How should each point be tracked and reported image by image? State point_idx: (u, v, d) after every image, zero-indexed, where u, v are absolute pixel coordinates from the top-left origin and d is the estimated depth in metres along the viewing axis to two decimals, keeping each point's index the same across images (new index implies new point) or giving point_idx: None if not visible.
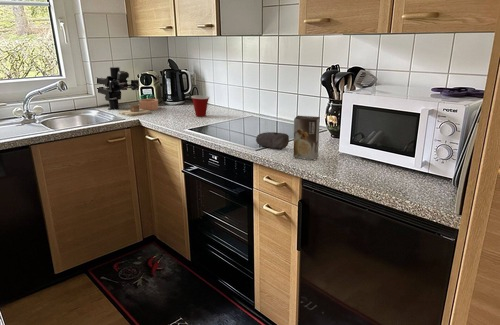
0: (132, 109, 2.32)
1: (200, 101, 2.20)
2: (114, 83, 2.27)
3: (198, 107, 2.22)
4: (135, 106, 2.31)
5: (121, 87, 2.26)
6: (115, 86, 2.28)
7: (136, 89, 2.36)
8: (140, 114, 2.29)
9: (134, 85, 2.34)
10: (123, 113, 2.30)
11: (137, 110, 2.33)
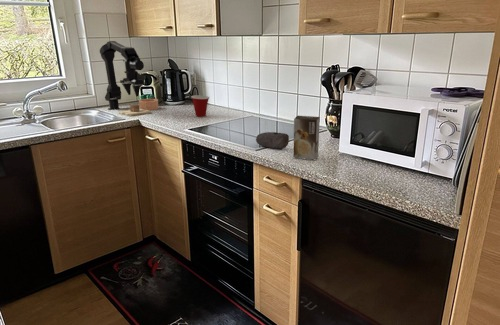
0: (132, 109, 2.32)
1: (200, 101, 2.20)
2: (141, 85, 2.25)
3: (198, 107, 2.22)
4: (135, 106, 2.31)
5: (137, 93, 2.26)
6: (138, 85, 2.24)
7: None
8: (140, 114, 2.29)
9: (129, 87, 2.33)
10: (123, 113, 2.30)
11: (137, 110, 2.33)
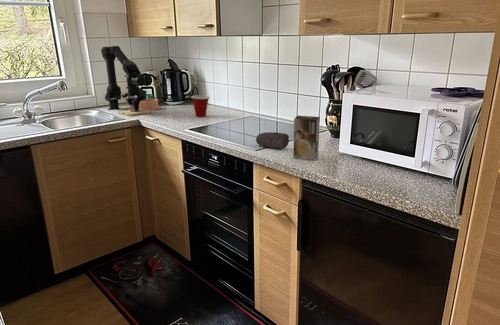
0: (132, 109, 2.32)
1: (200, 101, 2.20)
2: (140, 100, 2.30)
3: (198, 107, 2.22)
4: None
5: (136, 107, 2.31)
6: (137, 100, 2.29)
7: None
8: (140, 114, 2.29)
9: (132, 103, 2.34)
10: (123, 113, 2.30)
11: None
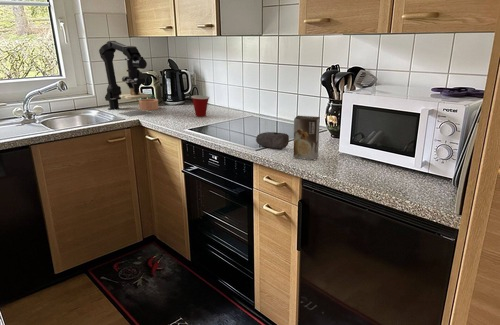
0: (132, 93, 2.31)
1: (200, 101, 2.20)
2: (141, 83, 2.28)
3: (198, 107, 2.22)
4: None
5: (137, 91, 2.30)
6: (137, 84, 2.27)
7: None
8: (140, 97, 2.28)
9: (133, 86, 2.33)
10: (123, 96, 2.29)
11: (137, 94, 2.31)
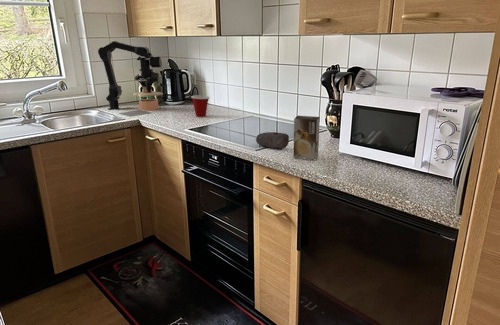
0: (145, 91, 2.44)
1: (200, 101, 2.20)
2: (153, 82, 2.41)
3: (198, 107, 2.22)
4: None
5: (149, 89, 2.43)
6: (150, 82, 2.41)
7: None
8: (153, 95, 2.41)
9: (145, 85, 2.46)
10: (136, 94, 2.42)
11: (150, 92, 2.45)
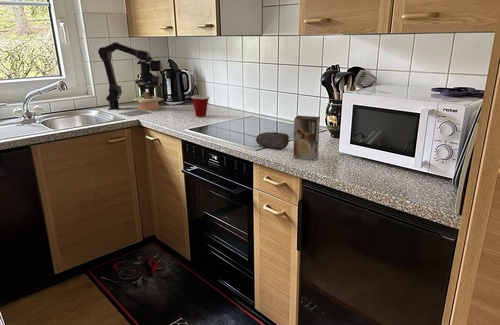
0: (145, 97, 2.45)
1: (200, 101, 2.20)
2: (155, 86, 2.41)
3: (198, 107, 2.22)
4: (148, 93, 2.44)
5: (151, 93, 2.42)
6: None
7: (139, 87, 2.47)
8: (153, 101, 2.42)
9: (144, 88, 2.48)
10: (137, 100, 2.43)
11: (150, 97, 2.46)
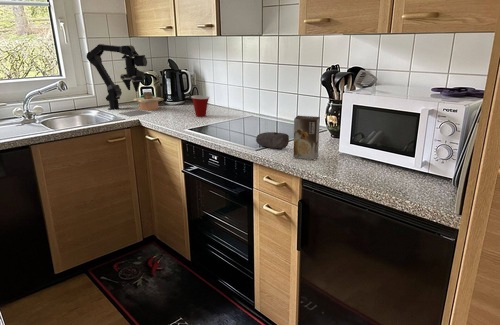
0: (145, 97, 2.45)
1: (200, 101, 2.20)
2: None
3: (198, 107, 2.22)
4: (148, 93, 2.44)
5: (136, 88, 2.40)
6: (137, 81, 2.37)
7: (124, 82, 2.45)
8: (153, 101, 2.42)
9: (128, 83, 2.46)
10: (137, 100, 2.43)
11: (150, 97, 2.46)
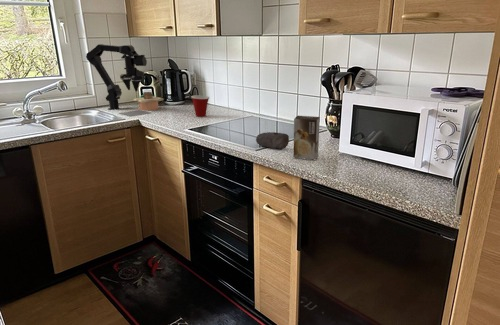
0: (145, 97, 2.45)
1: (200, 101, 2.20)
2: (140, 81, 2.38)
3: (198, 107, 2.22)
4: (148, 93, 2.44)
5: (136, 88, 2.39)
6: None
7: None
8: (153, 101, 2.42)
9: (128, 83, 2.46)
10: (137, 100, 2.43)
11: (150, 97, 2.46)
